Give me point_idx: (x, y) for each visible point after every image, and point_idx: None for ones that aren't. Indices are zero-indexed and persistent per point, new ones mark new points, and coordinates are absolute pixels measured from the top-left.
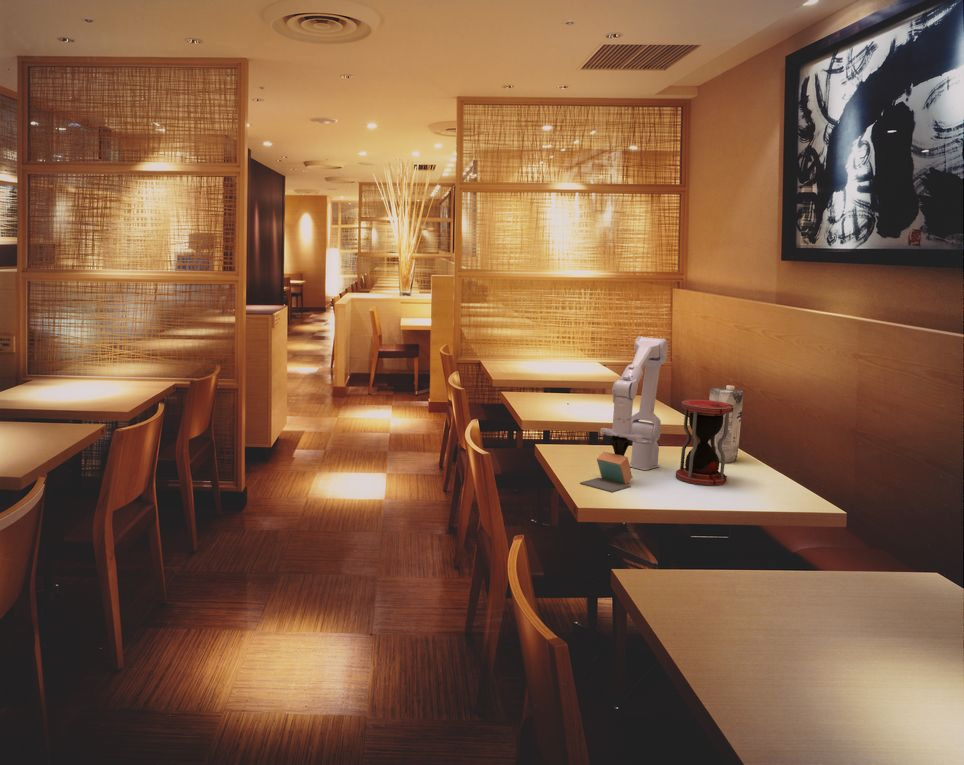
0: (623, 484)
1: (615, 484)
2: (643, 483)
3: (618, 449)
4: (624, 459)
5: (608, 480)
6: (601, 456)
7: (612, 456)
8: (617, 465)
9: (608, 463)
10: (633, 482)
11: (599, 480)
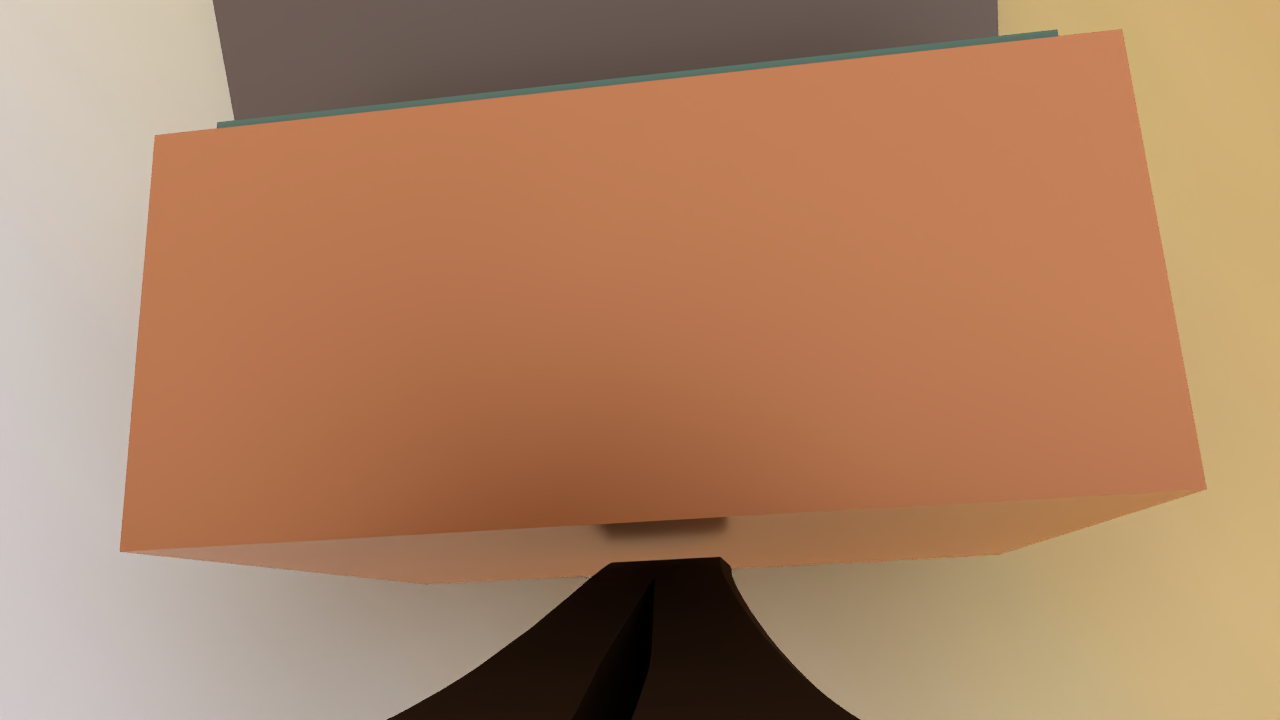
0: None
1: None
2: (337, 669)
3: (535, 700)
4: (155, 389)
5: None
6: (1041, 199)
7: (642, 355)
8: (280, 115)
9: (609, 84)
10: (462, 583)
11: None
